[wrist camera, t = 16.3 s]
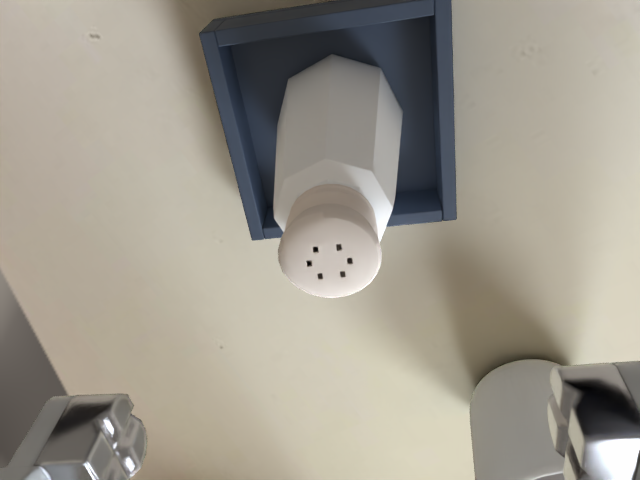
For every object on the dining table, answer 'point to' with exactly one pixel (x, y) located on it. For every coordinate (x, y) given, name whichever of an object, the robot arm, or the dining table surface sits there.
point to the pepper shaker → (335, 175)
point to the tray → (356, 44)
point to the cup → (514, 424)
